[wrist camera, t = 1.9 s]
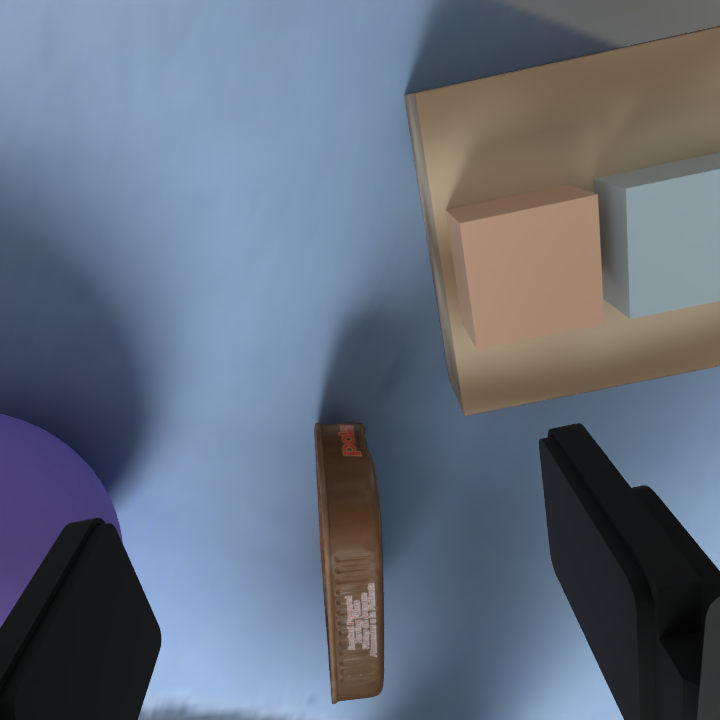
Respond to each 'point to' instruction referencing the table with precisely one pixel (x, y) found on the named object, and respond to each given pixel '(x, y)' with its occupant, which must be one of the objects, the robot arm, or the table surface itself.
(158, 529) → the table surface
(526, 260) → the tile terracotta
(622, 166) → the board
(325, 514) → the tin
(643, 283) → the tile slate
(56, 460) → the decorative ball
